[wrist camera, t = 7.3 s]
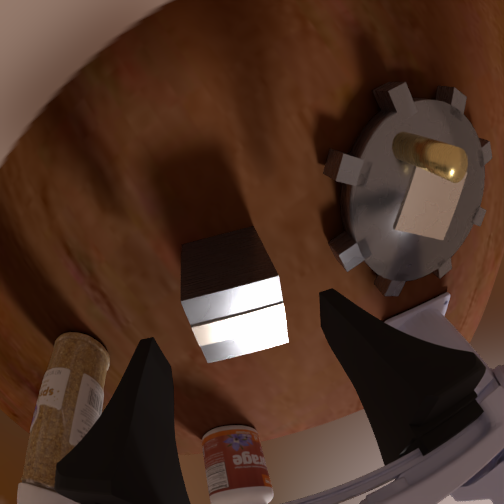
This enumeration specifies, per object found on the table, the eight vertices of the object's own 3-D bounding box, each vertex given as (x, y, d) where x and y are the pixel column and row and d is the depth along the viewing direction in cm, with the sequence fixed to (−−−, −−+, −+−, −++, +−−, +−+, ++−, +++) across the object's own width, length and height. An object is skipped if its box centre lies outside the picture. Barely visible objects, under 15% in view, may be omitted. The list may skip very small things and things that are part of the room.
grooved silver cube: (264, 284, 18) (289, 343, 13) (201, 300, 17) (208, 364, 13) (253, 225, 16) (279, 277, 11) (181, 244, 15) (180, 302, 11)
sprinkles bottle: (53, 322, 16) (4, 504, 4) (113, 338, 18) (95, 534, 6) (58, 362, 18) (29, 518, 6) (111, 376, 19) (102, 539, 8)
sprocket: (493, 130, 15) (546, 149, 10) (437, 286, 21) (476, 325, 17) (356, 38, 11) (427, 23, 6) (290, 278, 17) (326, 343, 13)
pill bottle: (268, 429, 28) (295, 515, 18) (231, 448, 29) (249, 528, 19) (226, 417, 25) (249, 520, 15) (189, 439, 26) (202, 529, 16)
